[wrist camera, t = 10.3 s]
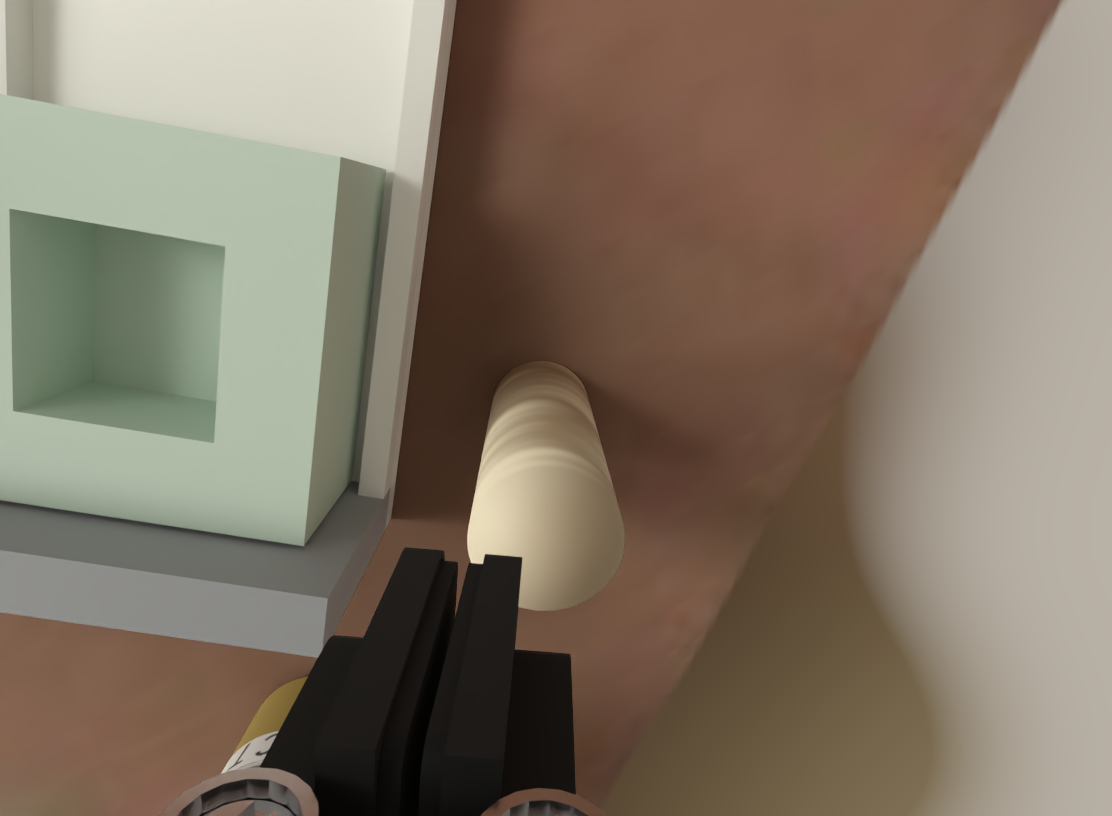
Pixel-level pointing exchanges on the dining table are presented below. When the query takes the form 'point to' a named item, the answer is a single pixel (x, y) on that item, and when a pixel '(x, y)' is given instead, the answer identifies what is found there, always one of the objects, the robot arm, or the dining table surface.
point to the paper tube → (265, 727)
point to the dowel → (546, 489)
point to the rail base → (410, 160)
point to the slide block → (180, 321)
